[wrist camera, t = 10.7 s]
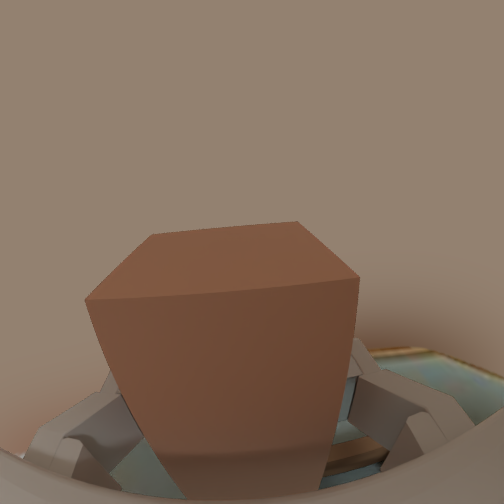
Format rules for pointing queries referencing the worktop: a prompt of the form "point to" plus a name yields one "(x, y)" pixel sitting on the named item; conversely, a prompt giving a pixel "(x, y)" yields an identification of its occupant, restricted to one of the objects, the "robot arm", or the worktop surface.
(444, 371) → the worktop surface
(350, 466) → the walnut well
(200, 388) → the salmon orange rectangular block
